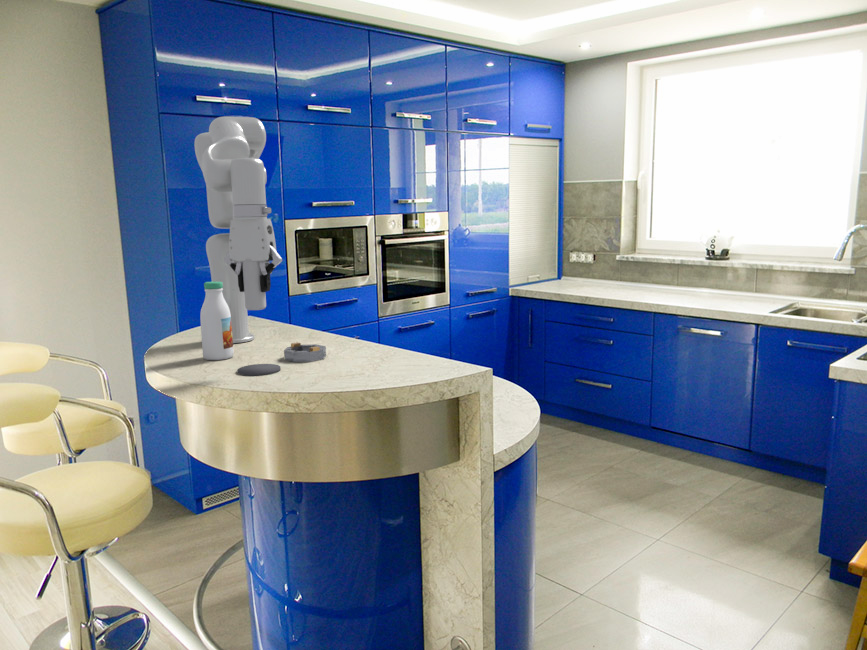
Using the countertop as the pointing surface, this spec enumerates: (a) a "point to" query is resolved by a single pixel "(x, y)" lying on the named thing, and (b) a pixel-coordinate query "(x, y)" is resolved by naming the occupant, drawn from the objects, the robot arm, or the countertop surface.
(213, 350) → the milk bottle
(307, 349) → the ring
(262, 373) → the slate coaster
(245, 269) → the beverage can
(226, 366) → the countertop surface
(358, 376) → the countertop surface
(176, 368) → the countertop surface
